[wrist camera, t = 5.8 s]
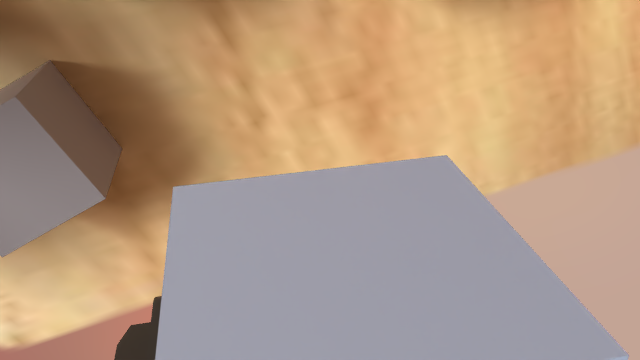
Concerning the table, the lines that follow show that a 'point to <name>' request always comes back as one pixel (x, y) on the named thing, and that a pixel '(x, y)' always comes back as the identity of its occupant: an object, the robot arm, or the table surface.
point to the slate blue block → (362, 273)
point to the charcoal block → (49, 156)
